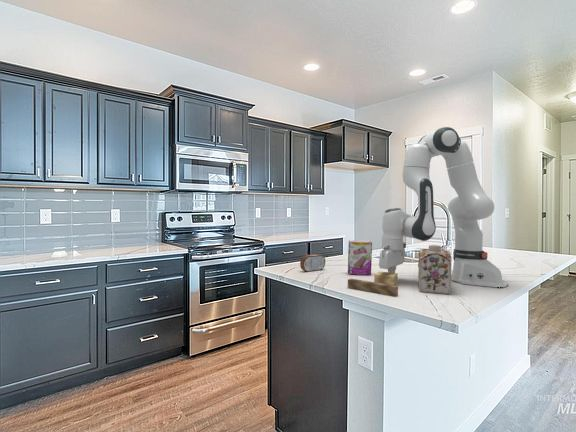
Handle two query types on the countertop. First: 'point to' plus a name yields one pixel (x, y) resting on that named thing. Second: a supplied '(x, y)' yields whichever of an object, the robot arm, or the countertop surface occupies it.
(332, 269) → the countertop surface
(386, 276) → the oak block
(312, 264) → the tin
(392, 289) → the walnut board
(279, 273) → the countertop surface
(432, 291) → the decorative jar
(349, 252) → the candy bar box
